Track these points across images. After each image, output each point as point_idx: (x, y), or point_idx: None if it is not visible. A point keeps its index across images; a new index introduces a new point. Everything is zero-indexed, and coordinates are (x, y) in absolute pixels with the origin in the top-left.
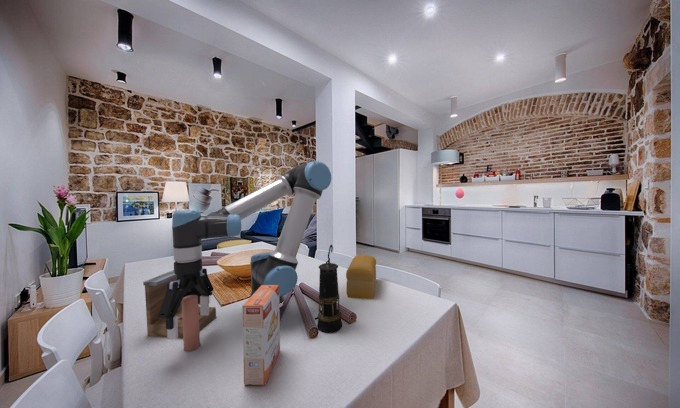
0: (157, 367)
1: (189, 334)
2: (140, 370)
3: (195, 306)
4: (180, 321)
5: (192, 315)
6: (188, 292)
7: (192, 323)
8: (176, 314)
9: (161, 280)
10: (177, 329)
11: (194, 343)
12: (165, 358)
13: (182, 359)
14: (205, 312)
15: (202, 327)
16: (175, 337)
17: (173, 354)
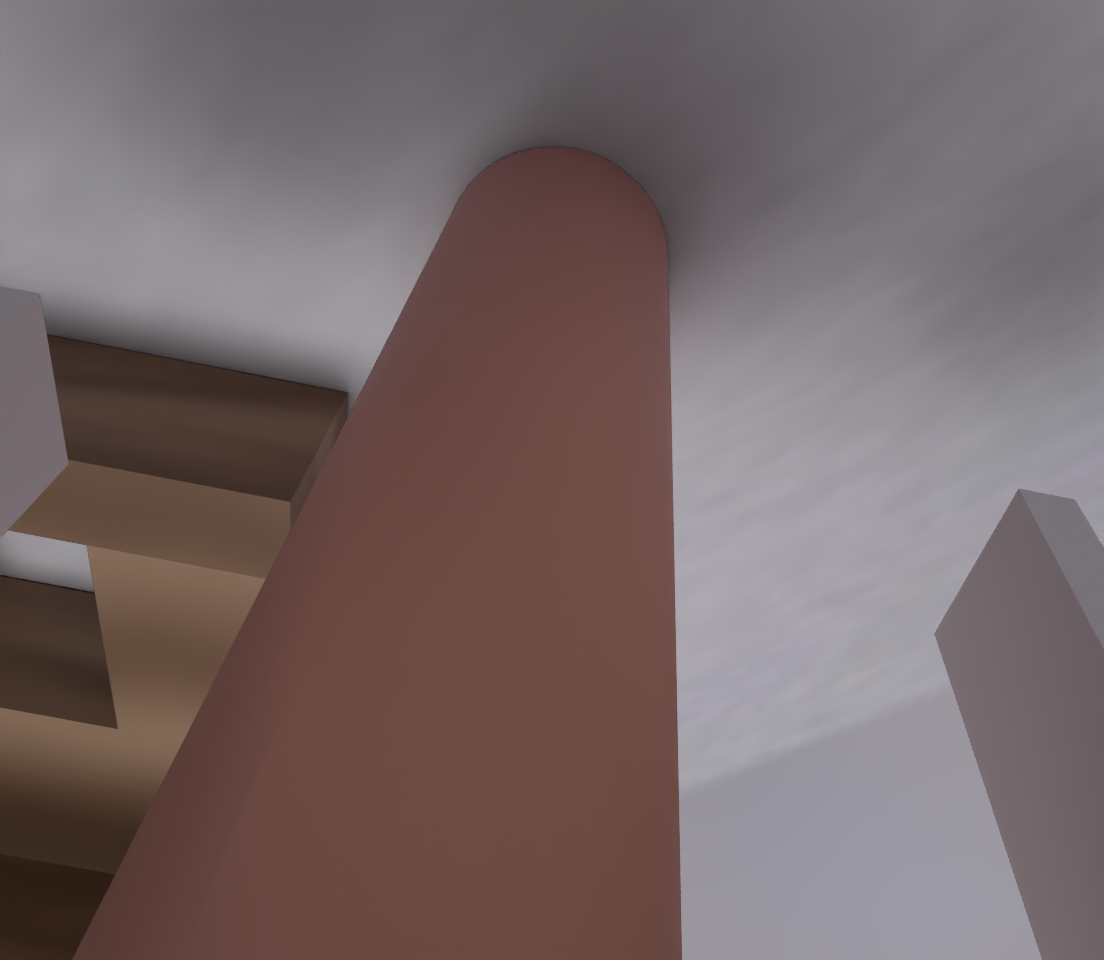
0: (951, 475)
1: (666, 368)
2: (947, 609)
3: (493, 763)
4: (159, 679)
5: (620, 587)
6: None
7: (637, 442)
8: (4, 788)
9: None
10: (1102, 628)
11: (633, 216)
12: (777, 476)
13: (861, 247)
14: (2, 387)
15: (62, 345)
16: (1080, 535)
17: (707, 425)
